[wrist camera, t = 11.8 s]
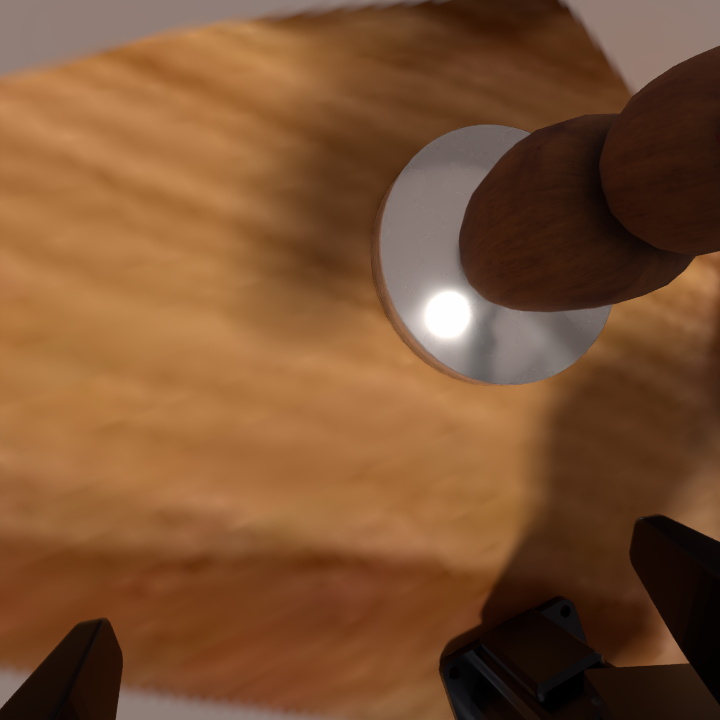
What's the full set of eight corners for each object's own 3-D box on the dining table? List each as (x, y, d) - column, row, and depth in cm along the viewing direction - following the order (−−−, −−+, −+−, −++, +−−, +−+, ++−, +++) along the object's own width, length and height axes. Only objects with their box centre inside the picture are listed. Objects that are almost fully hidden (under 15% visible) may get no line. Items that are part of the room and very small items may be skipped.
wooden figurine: (571, 191, 23) (1186, -170, 8) (583, 322, 22) (1244, 184, 8) (427, 185, 21) (894, -292, 6) (438, 327, 21) (955, 160, 6)
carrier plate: (623, 341, 25) (648, 337, 23) (420, 421, 22) (434, 423, 20) (550, 120, 25) (571, 102, 23) (335, 170, 22) (343, 154, 20)
